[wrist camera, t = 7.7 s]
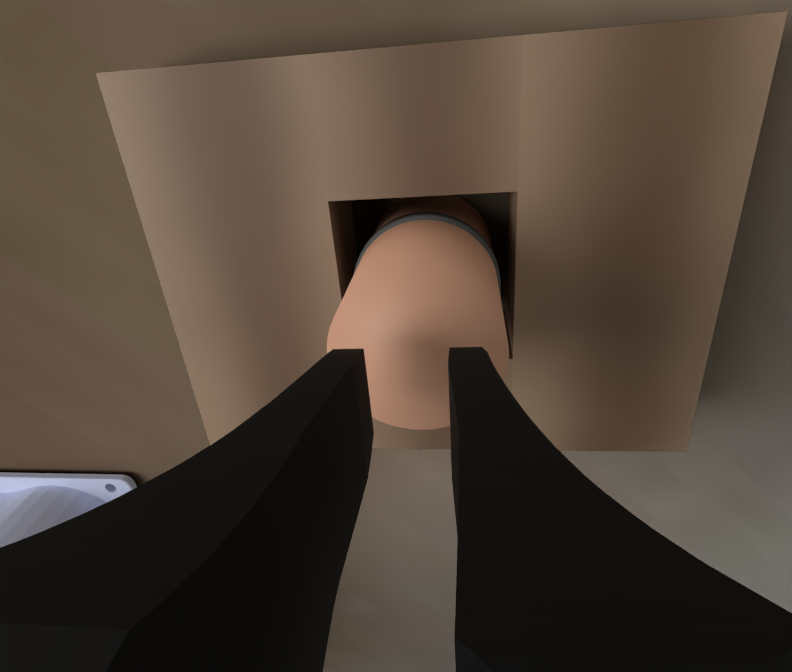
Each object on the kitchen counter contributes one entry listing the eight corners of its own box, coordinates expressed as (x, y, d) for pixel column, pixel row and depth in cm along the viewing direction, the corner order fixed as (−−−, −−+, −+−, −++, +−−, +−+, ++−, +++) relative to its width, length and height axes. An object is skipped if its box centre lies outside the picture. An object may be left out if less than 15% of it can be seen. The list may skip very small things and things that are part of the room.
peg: (375, 307, 19) (334, 431, 13) (364, 190, 17) (311, 270, 11) (492, 306, 18) (509, 434, 12) (495, 186, 17) (517, 265, 10)
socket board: (241, 398, 22) (210, 446, 19) (155, 69, 16) (95, 73, 13) (655, 397, 19) (685, 451, 17) (726, 18, 14) (787, 11, 11)
